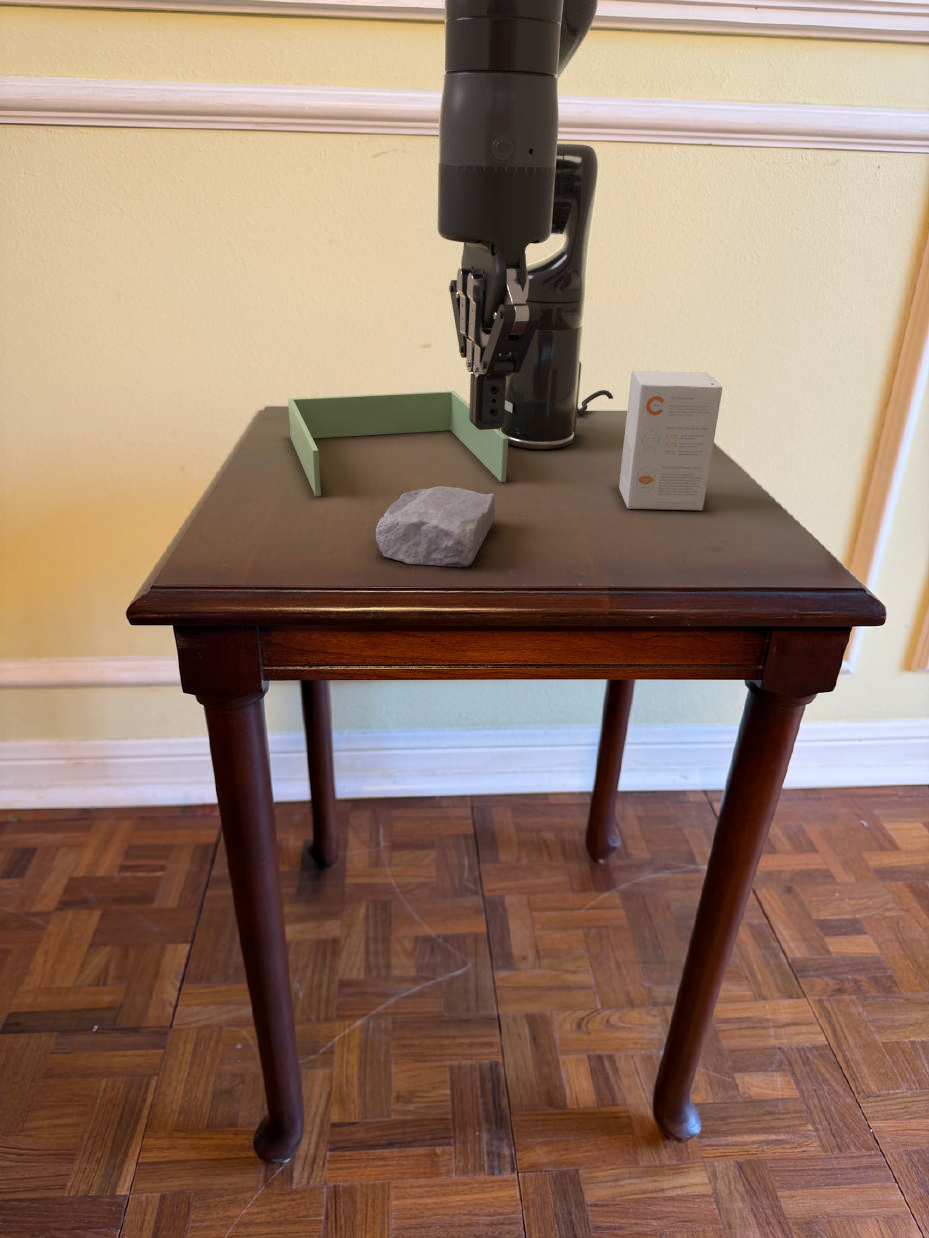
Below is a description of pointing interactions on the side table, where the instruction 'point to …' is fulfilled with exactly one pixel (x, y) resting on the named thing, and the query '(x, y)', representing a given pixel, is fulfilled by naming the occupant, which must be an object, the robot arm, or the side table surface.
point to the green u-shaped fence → (389, 424)
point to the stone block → (436, 526)
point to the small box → (669, 439)
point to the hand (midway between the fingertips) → (486, 426)
